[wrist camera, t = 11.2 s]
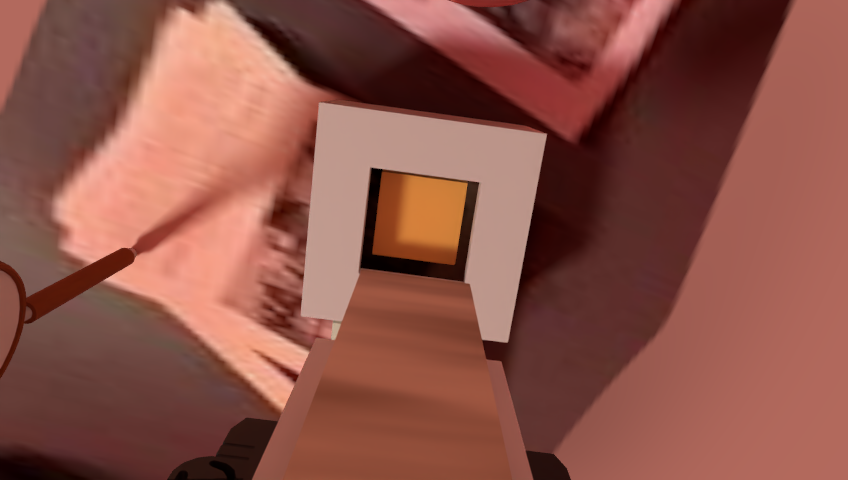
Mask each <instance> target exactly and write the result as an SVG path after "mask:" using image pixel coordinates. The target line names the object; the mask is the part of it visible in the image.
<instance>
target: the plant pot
mask: <svg viewBox="0 0 848 480" xmlns="http://www.w3.org/2000/svg"><path fill="white" fill-rule="evenodd" d="M449 1H452V2H456V3H459V4H463V5H468V6H477V7H499V6H507V5H514V4H518V3H522V2H525V1H528V0H449Z"/></svg>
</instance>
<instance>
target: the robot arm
mask: <svg viewBox="0 0 848 480" xmlns="http://www.w3.org/2000/svg"><path fill="white" fill-rule="evenodd" d="M334 341H335V340H331V339H323V338H316V339H315V342H314V344H313V346H312V348H311V350H310V353H309V355H308V357H307V359H306V361H305V364H304V366H303V368H302V370H301V373H300V375H299V377H298V379H297V381H296V384H295V386H294V388H293V390H292V392H291V395H290V397H289V399H288V401H287V403H286V406H285V408H284V410H283V412H282V414H281V417H280V419H279V421H270V420H262V419H253V418H245V419H244V420H243V421H241V422H240V423H238V424H237V425H236V426H234V427H233V428H231V430H230V432H229V433H228V435H227V437H226V438H225V440H224V442H223V445H221V447H220V449H219V450H218V452H217V454H216V457H214V456H209V457H200V458H195V459H193V460H190V461H187V462H184V463H183V464H181V465H180V466H178V467H177V468H176V469H174V470H173V471H172V473H171V474H170V476H169V477H168V479H167V480H283V477H284V475H285V472H286V469H287V467H288V464H289V461H290V459H291V456H292V453H293V451H294V448H295V445H296V443H297V440H298V437H299V435H300V432H301V429H302V427H303V424H304V421H305V419H306V416H307V413H308V411H309V408H310V405H311V403H312V400H313V397H314V395H315V392H316V389H317V387H318V384H319V381H320V379H321V376H322V373H323V371H324V368H325V365H326V363H327V360H328V357H329V355H330V352H331V349H332V347H333V344H334ZM486 361H487V365H488V370H489V375H490V379H491V384H492V388H493V393H494V398H495V402H496V407H497V411H498V416H499V421H500V425H501V430H502V435H503V439H504V444H505V448H506V453H507V458H508V462H509V467H510V471H511V476H512V480H571V479H570V476H569V473H568V471H567V468H566V467H565V466H564V465H563V464H562V463H561V462H560V461H559V459H558V458H557V457H556V456H555V455H554V454H549V453H541V452H533V451H525V447H524V444H523V440H522V436H521V432H520V429H519V425H518V421H517V418H516V414H515V410H514V407H513V403H512V399H511V395H510V392H509V388H508V384H507V381H506V377H505V373H504V370H503V366H502V362H501V361H495V360H487V359H486Z"/></svg>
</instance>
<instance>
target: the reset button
mask: <svg viewBox="0 0 848 480" xmlns="http://www.w3.org/2000/svg"><path fill="white" fill-rule="evenodd" d="M467 185H468V183H467V181H466V180H459V179H452V178H444V177H437V176H430V175H422V174H415V173H408V172H400V171H393V170H386V169H383V171H382V175H381V184H380V192H379V201H378V209H377V218H376V226H375V235H374V243H373V252H372V254H375V255H382V256H390V257H397V258H405V259H413V260H420V261H428V262H435V263H443V264H450V265H455V261H456V255H457V249H458V242H459V236H460V229H461V223H462V217H463V210H464V204H465V198H466V191H467Z"/></svg>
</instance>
